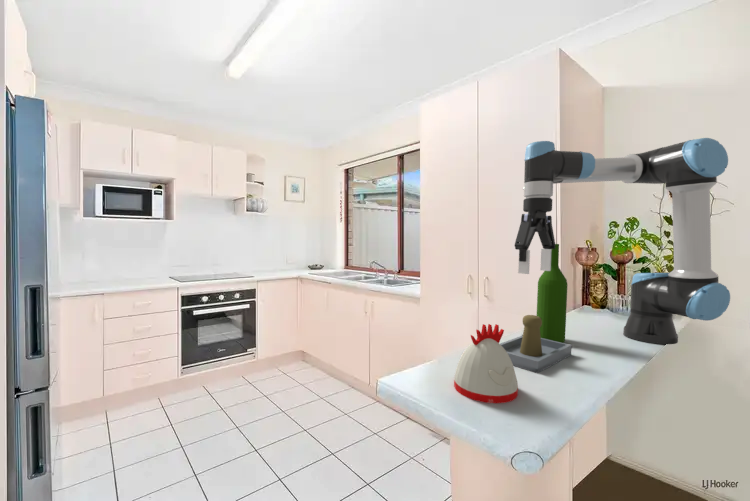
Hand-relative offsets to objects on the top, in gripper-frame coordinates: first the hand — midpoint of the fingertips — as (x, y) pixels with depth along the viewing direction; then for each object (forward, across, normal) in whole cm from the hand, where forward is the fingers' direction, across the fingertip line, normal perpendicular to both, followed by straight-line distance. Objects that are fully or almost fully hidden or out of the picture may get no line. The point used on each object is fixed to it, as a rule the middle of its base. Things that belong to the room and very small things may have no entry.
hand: (535, 272), depth 103 cm
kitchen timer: (+25, +30, +3) cm, 39 cm away
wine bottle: (+25, -21, -4) cm, 33 cm away
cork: (+24, 0, 0) cm, 24 cm away
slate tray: (+25, 0, 0) cm, 25 cm away
